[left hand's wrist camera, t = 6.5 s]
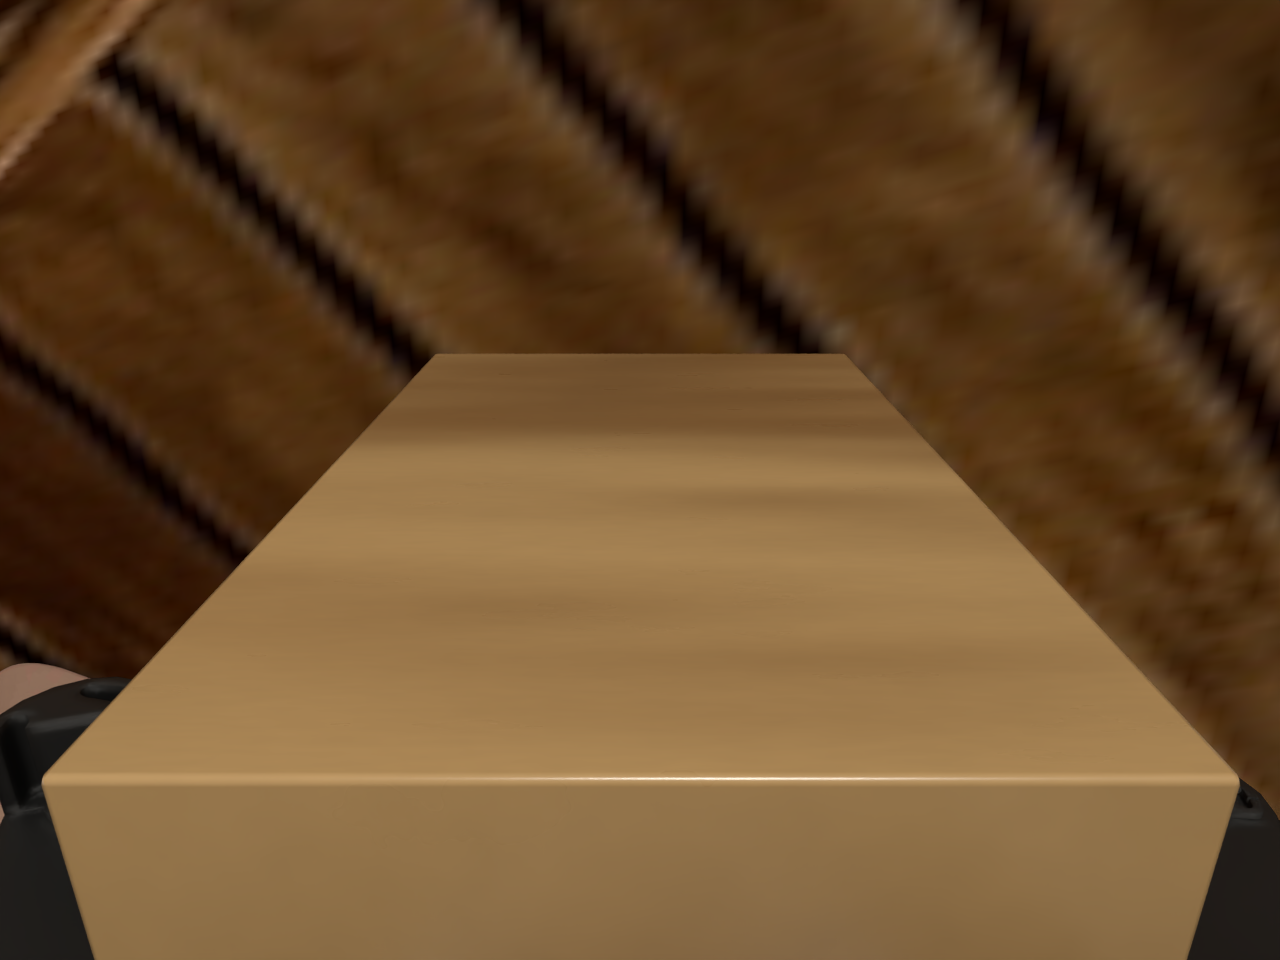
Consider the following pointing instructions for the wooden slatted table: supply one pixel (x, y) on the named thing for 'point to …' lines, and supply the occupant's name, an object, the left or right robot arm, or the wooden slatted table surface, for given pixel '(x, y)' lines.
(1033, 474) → the wooden slatted table surface
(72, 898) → the left robot arm
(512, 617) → the box
